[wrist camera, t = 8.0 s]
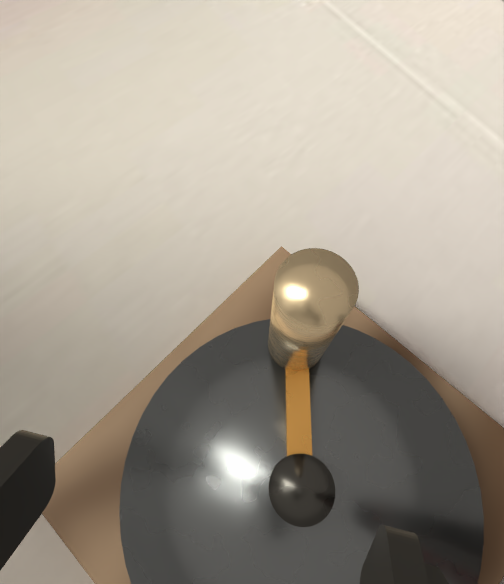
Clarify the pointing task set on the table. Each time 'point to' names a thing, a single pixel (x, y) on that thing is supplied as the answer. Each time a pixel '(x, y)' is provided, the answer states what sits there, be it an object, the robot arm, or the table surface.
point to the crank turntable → (296, 452)
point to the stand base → (126, 414)
